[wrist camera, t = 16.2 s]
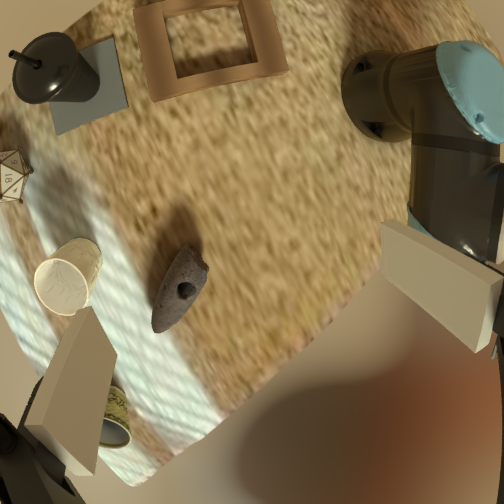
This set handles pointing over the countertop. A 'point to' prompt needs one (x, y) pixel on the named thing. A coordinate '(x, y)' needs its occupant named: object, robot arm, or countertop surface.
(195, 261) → the perforated stone tool
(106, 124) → the countertop surface
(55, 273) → the white cup
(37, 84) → the drinking cup
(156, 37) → the holder frame
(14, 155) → the game die
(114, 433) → the ceramic cup
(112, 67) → the slate mat
